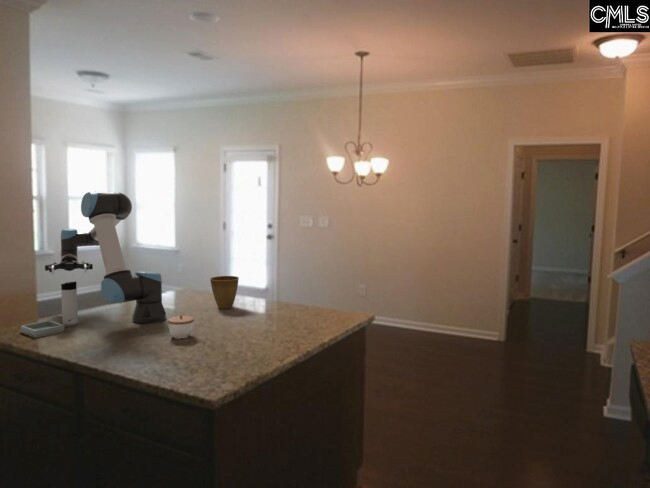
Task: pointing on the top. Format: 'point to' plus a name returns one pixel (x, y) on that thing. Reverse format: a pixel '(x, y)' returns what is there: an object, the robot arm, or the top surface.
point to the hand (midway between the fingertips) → (69, 270)
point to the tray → (42, 328)
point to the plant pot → (224, 290)
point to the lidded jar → (180, 326)
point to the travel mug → (69, 304)
